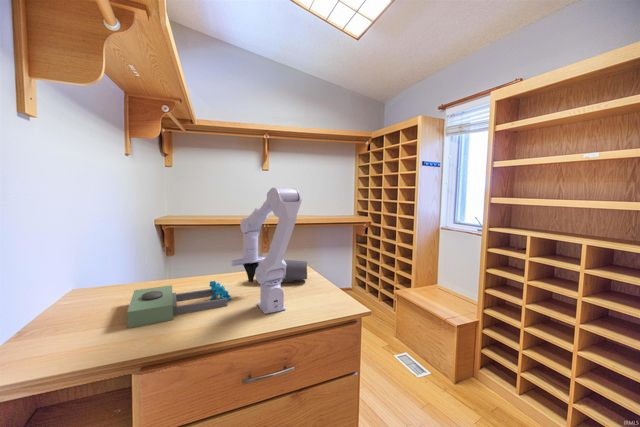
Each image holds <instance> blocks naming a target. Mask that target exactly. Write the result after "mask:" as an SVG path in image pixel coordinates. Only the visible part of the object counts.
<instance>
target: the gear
mask: <svg viewBox="0 0 640 427" xmlns="http://www.w3.org/2000/svg"><path fill="white" fill-rule="evenodd" d="M208 287H210V289H211V290H212V291H215V294H214V295H213V296H210V298H209V300H208V301H211V300H215V298H216V297H219V299H223V298H226V299H227V302H228V301H230V300H231V295H230V294H229V291H228V290H226V287H225V285H224V284H221V283H220V282H217V281H216V280H210V282H209V285H208Z"/></svg>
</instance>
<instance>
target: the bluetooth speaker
mask: <svg viewBox="0 0 640 427" xmlns="http://www.w3.org/2000/svg"><path fill="white" fill-rule="evenodd" d="M283 260H284V261H285V263H286V265H287V266H286V274H285V277H284V278H283V279H282V282H281V283H294V282H295V281H301V280H302V281H303V280H308V261H306V260H296V259H295V260H293V259H292V260H290V259H283ZM259 264H260V263H258V265H259Z"/></svg>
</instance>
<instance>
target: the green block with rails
mask: <svg viewBox="0 0 640 427" xmlns="http://www.w3.org/2000/svg"><path fill="white" fill-rule="evenodd" d="M214 294H215V291H212V290H211V288H207V289H200V290H193V291H188V292H187V291H186V292H180V293H176V292H173V284H170V285H163V286H156V287H149V288H147V287H146V288H142V289H134V291H133V294H132V296H131V299H130V302H129V305H128V308H127V311H126V320H127V329H131V328H136V327H143V326H146V325H153V324H157V323H158V324H159V323H164V322H169V321H173V320H174V316H178V315H184V314H189V313H195V312H200V311H205V310H210V309H212V310H213V309H217V308H222V307H227V306H228V301H227V299H226V298H223V299H220V298H219V299H213V300H211V301H210V300H206V301H200V302H196V303H195V302H193V303H189V304H188V303H187V304H182V305H177V304H178V302H181V301H188V300H196V299H200V298H206V297H212V296H213V295H214Z"/></svg>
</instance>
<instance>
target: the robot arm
mask: <svg viewBox="0 0 640 427" xmlns="http://www.w3.org/2000/svg"><path fill="white" fill-rule="evenodd" d="M302 201H303V199H302V197H301V194H300V191H299V189H298V188H296V187H294V188H293V187H291V188H287V187H286V188H284V187H283V188H280V187H271V188H270V189H269V190H268V192H267V193H266V200H265V201H264V202H263V204H262V205H261V206H260V207H255V208H254V210H253V211H252V212H251V213H250V215H248V217H242V219H241V220H240V230H241V233H242V235H243V236H242V238H243V240H242V242H243V243H242V246H243V251H242V252H243V253H242V256H243V257H242V258H237V259H232V260H231V266H232V267H237V266H243V268H244V270H245V273H246V275H247V276H246V277H247V279H248V280H247V281H248V282H249V283H254V279H256V282H258V284H259V285H260V287H259V288H260V294H259V295H260V301H258V302H256V305H257V306H258V307H259V309H260V310H261V311H262V312H263V314H264V315H266V314H270V313H276V312H280V311H285V310H287V307H286V306H285V305H284V302H285V300H284V299H285V298H284V296H285V294H284V291H283V289H282V285H281V283H283V282H282V279H283V278H284V277H285V274H286V266H287V265H286V263H285V261H284V260H285V259H284V256H285V254H286V251H287V249H288V245H289V243H290V240H291V236H292V235H293V234H292V233H293V231H294V228H295V225H296V222H297V218H298V213H299V210H300V207H301V205H302V204H301V203H302ZM270 213H273V215H274V216H275V217H276V218H278V222H277V224H276V228H275V231H274V234H273V238H272V240H271V244H270V247H269V249H268V250H269V251H268V253H267V256H259V237H260V235H261V234H260V233H261V230H262V225H263V224H264V223H265V222H266V221H267V220H268V219H269V214H270ZM258 263H260V264H259V265H258Z"/></svg>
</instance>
